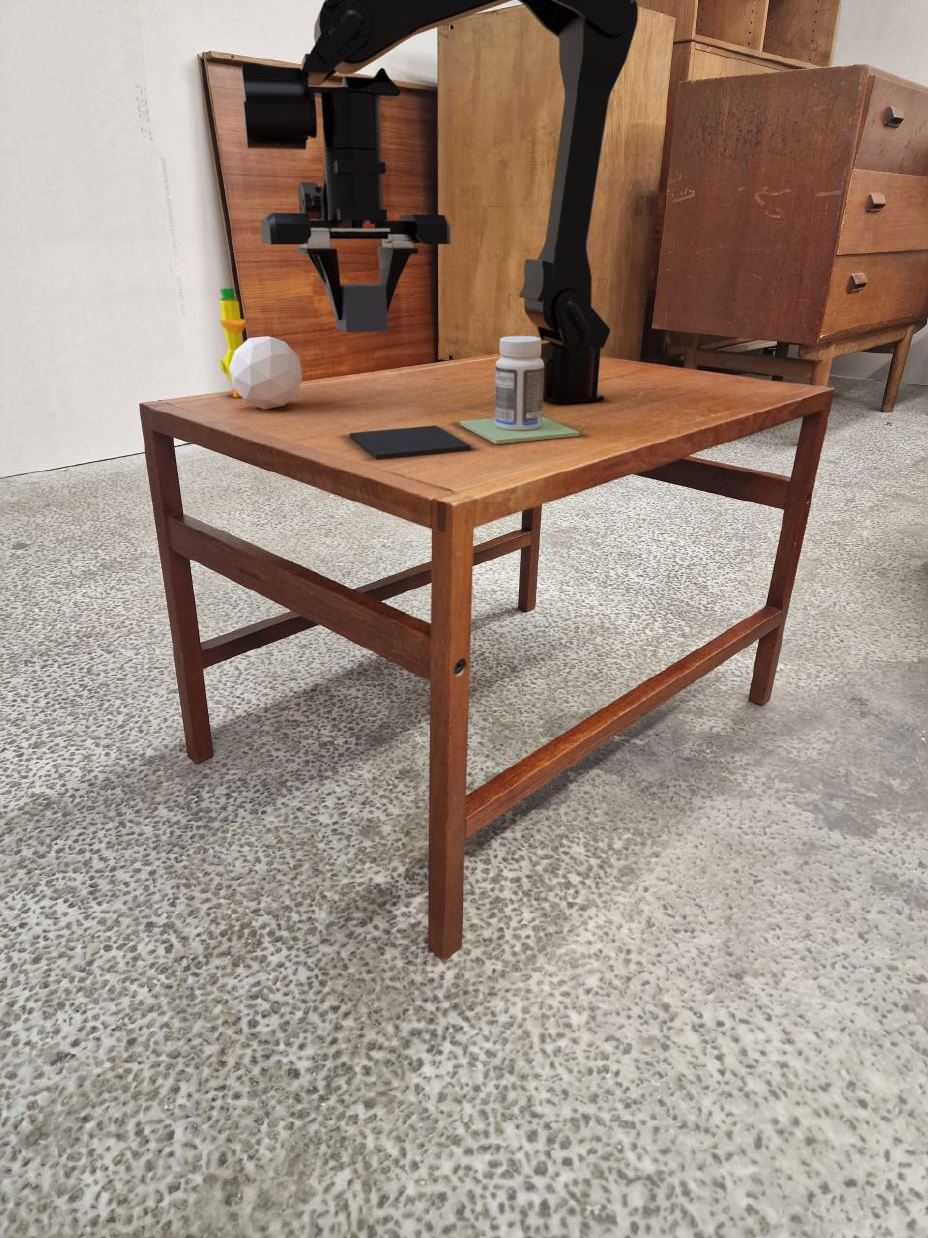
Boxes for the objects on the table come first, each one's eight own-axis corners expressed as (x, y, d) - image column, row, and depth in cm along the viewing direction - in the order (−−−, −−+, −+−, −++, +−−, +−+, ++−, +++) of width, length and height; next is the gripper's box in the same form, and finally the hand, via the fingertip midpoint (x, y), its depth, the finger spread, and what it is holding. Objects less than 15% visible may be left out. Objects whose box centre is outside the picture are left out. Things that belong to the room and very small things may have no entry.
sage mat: (537, 417, 86) (537, 414, 86) (579, 436, 78) (579, 431, 78) (459, 424, 83) (459, 420, 83) (495, 444, 75) (496, 440, 75)
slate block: (375, 326, 89) (373, 282, 87) (387, 330, 85) (386, 285, 83) (335, 327, 88) (333, 283, 86) (346, 332, 84) (343, 285, 82)
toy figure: (262, 399, 95) (250, 289, 89) (231, 401, 93) (218, 290, 88) (249, 390, 100) (237, 286, 95) (220, 392, 99) (206, 287, 93)
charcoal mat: (436, 429, 81) (435, 425, 81) (470, 449, 73) (470, 445, 73) (349, 436, 78) (349, 432, 78) (376, 459, 70) (376, 454, 70)
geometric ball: (255, 430, 92) (224, 368, 93) (318, 401, 93) (287, 340, 93) (242, 408, 85) (209, 341, 85) (311, 377, 86) (278, 311, 86)
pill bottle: (538, 420, 83) (542, 335, 79) (544, 431, 78) (548, 341, 75) (492, 420, 83) (494, 335, 79) (496, 431, 78) (497, 341, 75)
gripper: (415, 160, 89) (418, 310, 96) (244, 154, 83) (260, 315, 90) (452, 152, 80) (452, 318, 87) (263, 145, 73) (279, 325, 80)
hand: (361, 319), depth 86 cm, fingers closed on slate block, 4 cm apart
